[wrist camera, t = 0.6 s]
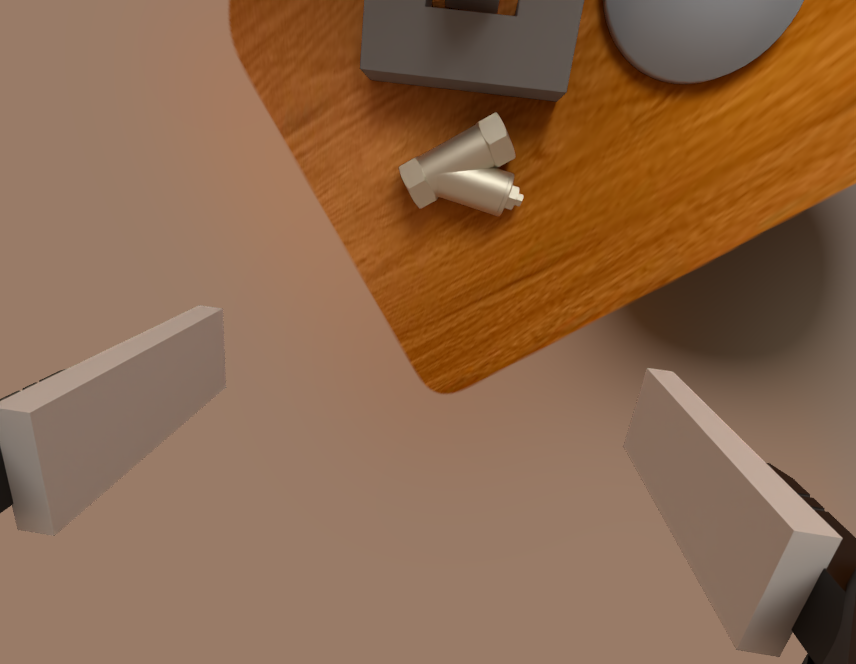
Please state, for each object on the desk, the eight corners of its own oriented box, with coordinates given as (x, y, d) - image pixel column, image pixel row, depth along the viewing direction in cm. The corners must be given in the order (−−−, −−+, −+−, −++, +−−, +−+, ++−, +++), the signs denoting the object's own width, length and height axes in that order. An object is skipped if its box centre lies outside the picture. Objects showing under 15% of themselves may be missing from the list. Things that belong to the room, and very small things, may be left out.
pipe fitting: (529, 196, 37) (494, 114, 34) (537, 201, 33) (498, 110, 31) (440, 241, 38) (401, 166, 36) (438, 251, 35) (395, 167, 33)
